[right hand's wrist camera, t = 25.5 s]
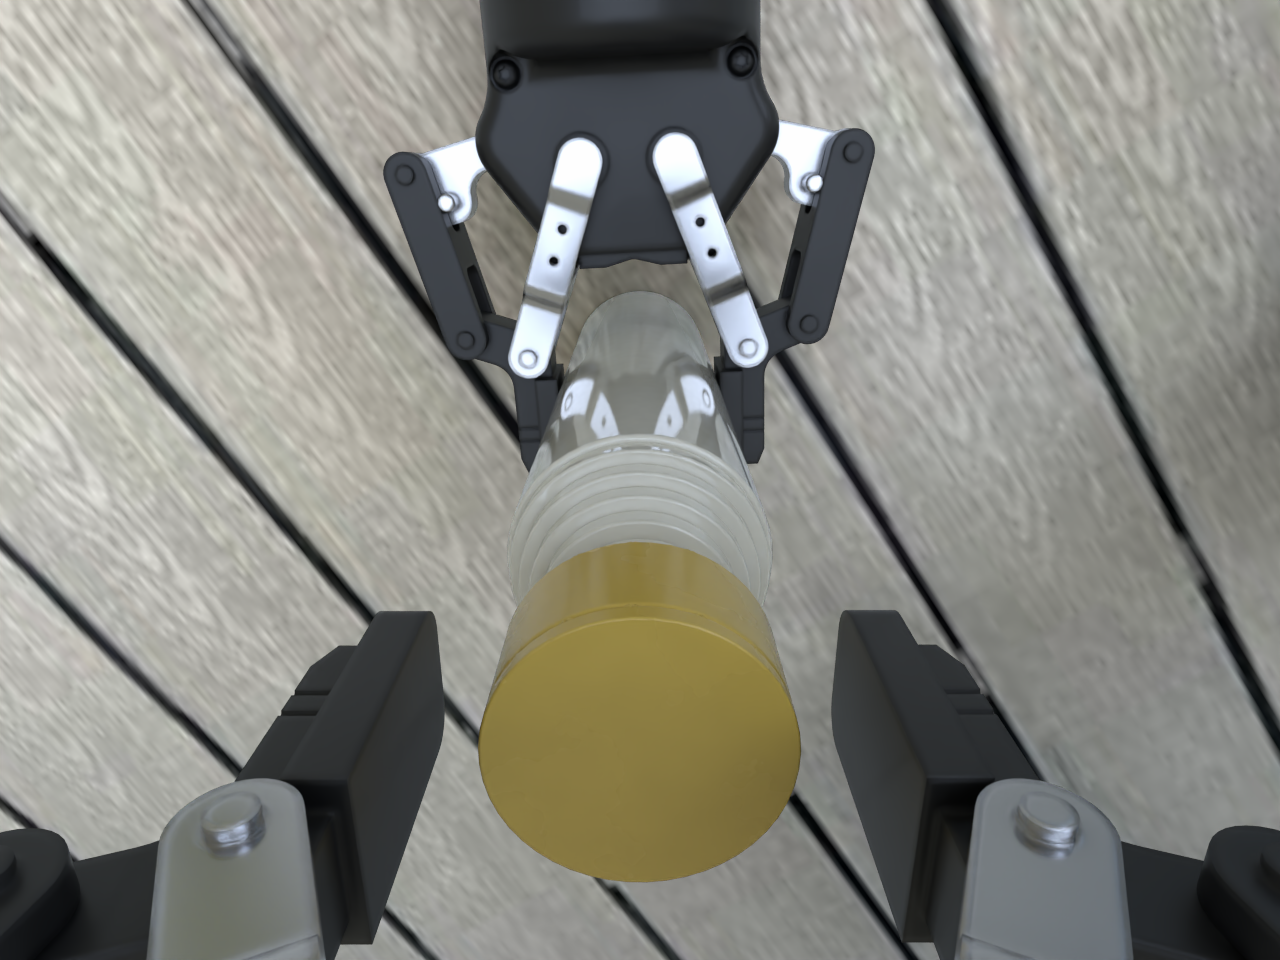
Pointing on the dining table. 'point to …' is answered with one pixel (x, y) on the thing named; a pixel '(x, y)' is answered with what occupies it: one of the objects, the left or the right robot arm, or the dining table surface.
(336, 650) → the right robot arm
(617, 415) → the bottle
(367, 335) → the dining table surface
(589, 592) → the cap
